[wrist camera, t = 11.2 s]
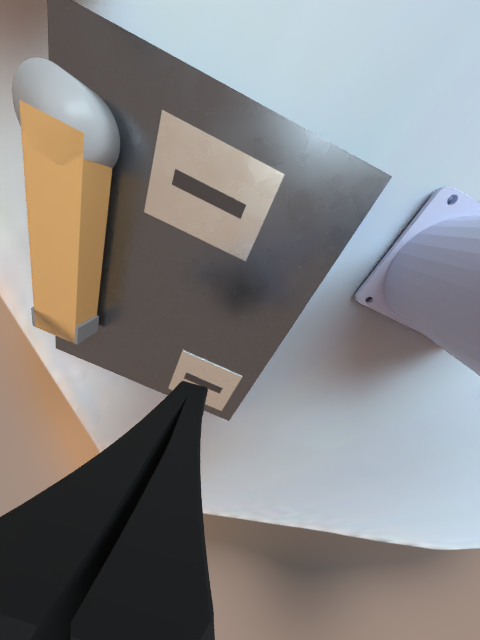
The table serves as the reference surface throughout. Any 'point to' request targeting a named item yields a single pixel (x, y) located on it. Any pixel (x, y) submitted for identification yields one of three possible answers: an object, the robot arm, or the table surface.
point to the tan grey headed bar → (65, 193)
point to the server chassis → (203, 216)
